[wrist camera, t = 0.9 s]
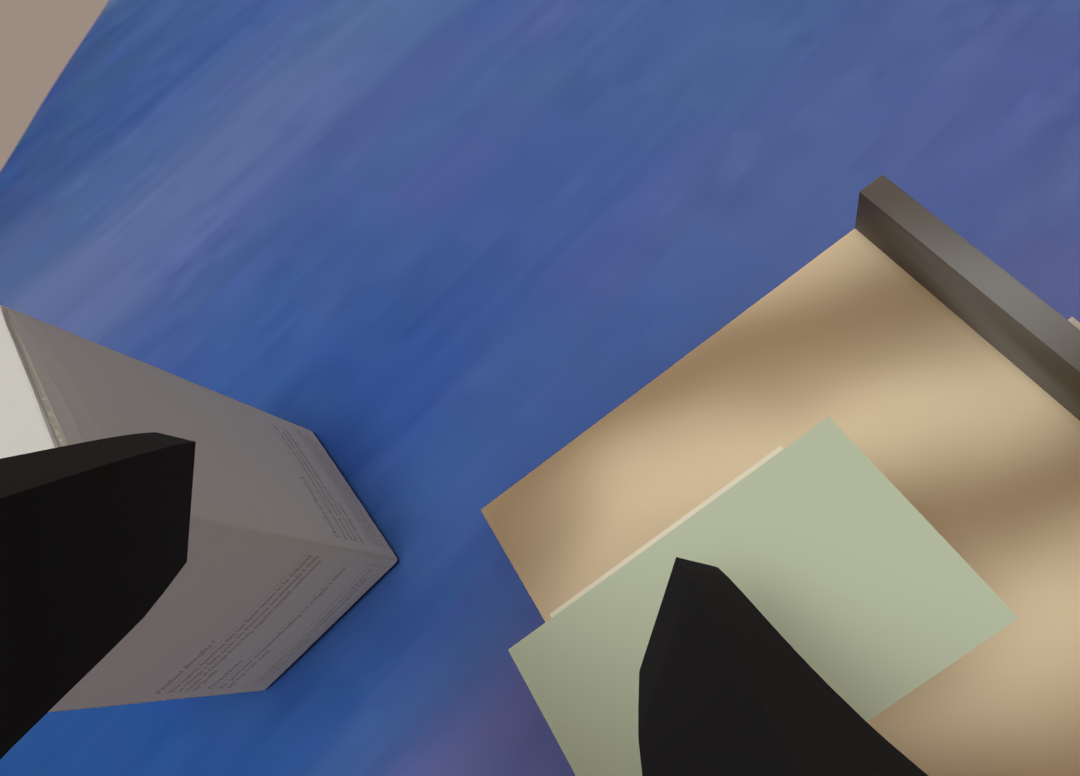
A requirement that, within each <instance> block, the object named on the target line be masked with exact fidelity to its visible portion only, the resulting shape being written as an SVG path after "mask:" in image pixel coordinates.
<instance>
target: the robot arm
mask: <svg viewBox="0 0 1080 776" xmlns="http://www.w3.org/2000/svg"><path fill="white" fill-rule="evenodd" d="M195 445H196V442H195V441H191V440H186V439H182V438H178V437H174V436H170V435H166V434H161V433H157V432H151V433H138V434H130V435H123V436H116V437H110V438H104V439H99V440H93V441H88V442H83V443H78V444H72V445H67V446H62V447H57V448H52V449H47V450H42V451H37V452H32V453H26V454H21V455H16V456H11V457H6V458H1V459H0V759H1V758H2V757H3V756H4V755H5V754H6V753H7V752H8V751H9V750H10V749H11V748H12V747H13V746H14V745H15V744H16V743H17V742H18V741H19V740H20V739H21V738H22V737H23V736H24V735H25V734H26V733H27V732H28V731H29V730H30V729H31V728H32V727H33V726H34V725H35V724H36V723H37V722H38V721H39V720H40V719H41V718H42V717H43V716H44V715H45V714H46V713H47V712H48V711H49V710H51V709H52V708H53V707H54V706H55V705H56V704H57V703H58V702H59V701H60V700H61V699H62V698H63V697H64V696H65V695H66V694H67V693H68V692H69V691H70V690H71V689H72V688H73V687H74V686H75V685H76V684H77V683H78V682H79V681H80V680H81V679H82V678H83V677H84V676H85V675H86V674H87V673H89V672H90V671H91V670H92V669H93V668H94V667H95V666H96V665H97V664H98V663H99V662H100V661H101V660H102V659H103V658H104V657H105V656H106V655H107V654H108V653H109V652H110V651H111V650H112V649H113V648H114V647H115V646H116V645H117V644H118V643H119V642H120V641H121V640H122V639H123V638H124V637H125V636H126V635H127V634H128V633H129V632H130V631H131V630H132V629H133V628H134V627H135V626H136V625H137V624H138V623H139V622H140V621H141V620H142V619H143V618H144V617H145V615H146V614H147V613H148V612H149V610H150V609H151V608H152V607H153V605H154V604H155V603H156V602H157V601H158V599H159V598H160V597H161V596H162V594H163V593H164V592H165V590H166V589H167V588H168V586H169V585H170V584H171V582H172V581H173V580H174V578H175V577H176V576H177V574H178V573H179V572H180V570H181V569H182V568H183V566H184V565H185V564H186V562H187V554H188V540H189V527H190V513H191V500H192V486H193V473H194V459H195ZM638 739H639V749H640V759H641V768H642V776H928V775H927V774H926V773H925V772H923V771H922V770H921V769H920V768H919V767H918V766H916V765H915V764H914V763H913V762H912V761H910V760H909V759H908V758H907V757H906V756H905V755H903V754H902V753H901V752H900V751H899V750H898V749H896V748H895V747H894V746H893V745H892V744H890V743H889V742H888V741H887V740H886V739H885V738H884V737H883V736H882V735H880V734H879V733H878V732H877V731H876V730H875V729H874V728H873V727H872V726H871V725H869V724H868V723H867V722H866V721H865V720H864V719H863V718H862V717H861V716H860V715H859V714H858V713H857V712H856V711H855V710H854V709H853V708H852V707H851V706H850V705H849V704H848V703H847V702H846V701H845V700H843V699H842V698H841V697H840V696H839V695H838V694H837V693H836V692H835V691H834V690H833V689H832V688H831V687H830V686H829V685H828V684H827V683H826V682H825V681H824V680H823V679H822V678H821V677H820V676H819V675H818V674H817V673H816V672H815V671H814V670H813V669H812V668H811V667H810V665H809V664H808V663H807V662H806V661H805V660H804V659H803V658H802V657H801V656H800V655H799V654H798V653H797V652H796V651H795V650H794V649H793V647H792V646H791V645H790V644H789V643H788V642H787V641H786V640H785V639H784V638H783V637H782V636H781V634H780V633H779V632H778V631H777V630H776V629H775V628H774V627H773V626H772V625H771V623H770V622H769V621H768V620H767V619H766V618H765V617H764V616H763V615H762V613H761V612H760V611H759V610H758V609H757V608H756V607H755V606H754V605H753V603H752V602H751V601H750V600H749V599H748V598H747V597H746V596H745V595H744V593H743V592H742V591H741V590H740V589H739V588H738V587H737V586H736V585H735V584H734V583H733V582H732V581H731V579H730V578H729V577H728V576H727V575H726V574H725V573H723V572H722V571H721V570H720V569H719V568H718V567H715V566H711V565H707V564H703V563H699V562H695V561H690V560H686V559H682V558H678V557H676V559H675V562H674V565H673V568H672V572H671V575H670V578H669V581H668V584H667V587H666V590H665V593H664V596H663V599H662V603H661V606H660V609H659V612H658V615H657V618H656V621H655V624H654V627H653V630H652V633H651V637H650V640H649V643H648V646H647V649H646V652H645V655H644V658H643V661H642V664H641V667H640V671H639V702H638Z"/></svg>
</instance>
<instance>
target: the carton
mask: <svg viewBox="0 0 1080 776" xmlns="http://www.w3.org/2000/svg"><path fill="white" fill-rule="evenodd" d="M676 557H678V558H682V559H686V560H690V561H695V562H699V563H703V564H707V565H711V566H715V567H718V568H719V569H720V570H721V571H722V572H723V573H725V574H726V575H727V576H728V577H729V578H730V579H731V581H732V582H733V583H734V584H735V585H736V586H737V587H738V588H739V589H740V590H741V591H742V592H743V593H744V595H745V596H746V597H747V598H748V599H749V600H750V601H751V602H752V603H753V605H754V606H755V607H756V608H757V609H758V610H759V611H760V612H761V613H762V615H763V616H764V617H765V618H766V619H767V620H768V621H769V622H770V623H771V625H772V626H773V627H774V628H775V629H776V630H777V631H778V632H779V633H780V634H781V636H782V637H783V638H784V639H785V640H786V641H787V642H788V643H789V644H790V645H791V646H792V647H793V649H794V650H795V651H796V652H797V653H798V654H799V655H800V656H801V657H802V658H803V659H804V660H805V661H806V662H807V663H808V664H809V665H810V667H811V668H812V669H813V670H814V671H815V672H816V673H817V674H818V675H819V676H820V677H821V678H822V679H823V680H824V681H825V682H826V683H827V684H828V685H829V686H830V687H831V688H832V689H833V690H834V691H835V692H836V693H837V694H838V695H839V696H840V697H841V698H842V699H843V700H845V701H846V702H847V703H848V704H849V705H850V706H851V707H852V708H853V709H854V710H855V711H856V712H857V713H858V714H859V715H860V716H861V717H862V718H863V719H864V720H865V721H866V722H867V721H869V720H870V719H872V718H873V717H875V716H876V715H878V714H879V713H881V712H882V711H883V710H885V709H886V708H888V707H889V706H891V705H892V704H894V703H895V702H897V701H898V700H900V699H901V698H903V697H904V696H905V695H907V694H908V693H910V692H911V691H913V690H914V689H916V688H917V687H919V686H920V685H922V684H923V683H925V682H926V681H927V680H929V679H930V678H932V677H933V676H935V675H936V674H938V673H939V672H941V671H942V670H944V669H945V668H947V667H948V666H950V665H951V664H952V663H954V662H955V661H957V660H958V659H960V658H961V657H963V656H964V655H966V654H967V653H969V652H970V651H972V650H973V649H974V648H976V647H977V646H979V645H980V644H982V643H983V642H985V641H986V640H988V639H989V638H991V637H992V636H994V635H995V634H997V633H998V632H999V631H1001V630H1002V629H1004V628H1005V627H1007V626H1008V625H1010V624H1011V623H1013V622H1014V621H1016V620H1017V619H1019V617H1018V616H1017V615H1016V614H1015V613H1014V612H1013V611H1012V610H1011V609H1010V608H1009V607H1008V606H1007V605H1006V604H1005V603H1004V602H1003V600H1002V599H1001V598H1000V597H999V596H998V595H997V594H996V593H995V592H994V591H993V590H992V589H991V588H990V587H989V586H988V585H987V584H986V582H985V581H984V580H983V579H982V578H981V577H980V576H979V575H978V574H977V573H976V572H975V571H974V570H973V569H972V568H971V567H970V566H969V564H968V563H967V562H966V561H965V560H964V559H963V558H962V557H961V556H960V555H959V554H958V553H957V552H956V551H955V550H954V549H953V547H952V546H951V545H950V544H949V543H948V542H947V541H946V540H945V539H944V538H943V537H942V536H941V535H940V534H939V533H938V532H937V531H936V529H935V528H934V527H933V526H932V525H931V524H930V523H929V522H928V521H927V520H926V519H925V518H924V517H923V516H922V515H921V514H920V513H919V511H918V510H917V509H916V508H915V507H914V506H913V505H912V504H911V503H910V502H909V501H908V500H907V499H906V498H905V497H904V496H903V494H902V493H901V492H900V491H899V490H898V489H897V488H896V487H895V486H894V485H893V484H892V483H891V482H890V481H889V480H888V479H887V478H886V476H885V475H884V474H883V473H882V472H881V471H880V470H879V469H878V468H877V467H876V466H875V465H874V464H873V463H872V462H871V461H870V459H869V458H868V457H867V456H866V455H865V454H864V453H863V452H862V451H861V450H860V449H859V448H858V447H857V446H856V445H855V444H854V443H853V441H852V440H851V439H850V438H849V437H848V436H847V435H846V434H845V433H844V432H843V431H842V430H841V429H840V428H839V427H838V426H837V425H836V423H835V422H834V421H833V420H832V419H831V418H830V417H829V416H828V417H827V418H826V419H824V420H823V421H821V422H820V423H819V424H817V425H816V426H815V427H813V428H812V429H811V430H809V431H808V432H806V433H805V434H804V435H802V436H801V437H800V438H798V439H797V440H795V441H794V442H793V443H791V444H790V445H789V446H787V447H786V448H783V447H782V446H779V447H778V448H776V449H775V450H774V451H772V452H771V453H770V454H768V455H767V456H765V457H764V458H763V459H761V460H760V461H759V462H757V463H756V464H755V465H753V466H752V467H750V468H749V469H748V470H746V471H745V472H744V473H742V474H741V475H739V476H738V477H737V478H735V479H734V480H733V481H731V482H730V483H728V484H727V485H726V486H724V487H723V488H722V489H720V490H719V491H717V492H716V493H715V494H713V495H712V496H711V497H709V498H708V499H707V500H705V501H704V502H702V503H701V504H700V505H698V506H697V507H696V508H694V509H693V510H691V511H690V512H689V513H687V514H686V515H685V516H683V517H682V518H680V519H679V520H678V521H676V522H675V523H674V524H672V525H671V526H669V527H668V528H667V529H665V530H664V531H663V532H661V533H660V534H659V535H657V536H656V537H654V538H653V539H652V540H650V541H649V542H648V543H646V544H645V545H643V546H642V547H641V548H639V549H638V550H637V551H635V552H634V553H632V554H631V555H630V556H628V557H627V558H626V559H624V560H623V561H621V562H620V563H619V564H617V565H616V566H615V567H613V568H612V569H610V570H609V571H608V572H606V573H605V574H604V575H602V576H601V577H600V578H598V579H597V580H595V581H594V582H593V583H591V584H590V585H589V586H587V587H586V588H584V589H583V590H582V591H580V592H579V593H578V594H576V595H575V596H573V597H572V598H571V599H569V600H568V601H567V602H565V603H564V604H562V605H561V606H560V607H558V608H557V609H556V610H554V611H553V612H552V613H550V616H551V617H552V618H551V619H550V620H548V621H547V622H545V623H544V624H543V625H541V626H540V627H539V628H537V629H536V630H534V631H533V632H532V633H530V634H529V635H528V636H526V637H525V638H524V639H522V640H521V641H519V642H518V643H517V644H515V645H514V646H513V647H511V648H510V649H508V651H509V652H510V654H511V656H512V658H513V660H514V662H515V664H516V665H517V667H518V669H519V671H520V673H521V675H522V677H523V678H524V680H525V682H526V684H527V686H528V688H529V690H530V691H531V693H532V695H533V697H534V699H535V701H536V703H537V705H538V706H539V708H540V710H541V712H542V714H543V716H544V718H545V719H546V721H547V723H548V725H549V727H550V729H551V731H552V732H553V734H554V736H555V738H556V740H557V742H558V744H559V745H560V747H561V749H562V751H563V753H564V755H565V757H566V758H567V760H568V762H569V764H570V766H571V768H572V770H573V771H574V773H575V775H576V776H642V768H641V759H640V749H639V739H638V702H639V671H640V667H641V664H642V661H643V658H644V655H645V652H646V649H647V646H648V643H649V640H650V637H651V633H652V630H653V627H654V624H655V621H656V618H657V615H658V612H659V609H660V606H661V603H662V599H663V596H664V593H665V590H666V587H667V584H668V581H669V578H670V575H671V572H672V568H673V565H674V562H675V559H676Z"/></svg>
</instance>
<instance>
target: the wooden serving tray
mask: <svg viewBox="0 0 1080 776" xmlns="http://www.w3.org/2000/svg"><path fill="white" fill-rule="evenodd" d="M828 416H829V417H830V418H831V419H832V420H833V421H834V422H835V423H836V425H837V426H838V427H839V428H840V429H841V430H842V431H843V432H844V433H845V434H846V435H847V436H848V437H849V438H850V439H851V440H852V441H853V443H854V444H855V445H856V446H857V447H858V448H859V449H860V450H861V451H862V452H863V453H864V454H865V455H866V456H867V457H868V458H869V459H870V461H871V462H872V463H873V464H874V465H875V466H876V467H877V468H878V469H879V470H880V471H881V472H882V473H883V474H884V475H885V476H886V478H887V479H888V480H889V481H890V482H891V483H892V484H893V485H894V486H895V487H896V488H897V489H898V490H899V491H900V492H901V493H902V494H903V496H904V497H905V498H906V499H907V500H908V501H909V502H910V503H911V504H912V505H913V506H914V507H915V508H916V509H917V510H918V511H919V513H920V514H921V515H922V516H923V517H924V518H925V519H926V520H927V521H928V522H929V523H930V524H931V525H932V526H933V527H934V528H935V529H936V531H937V532H938V533H939V534H940V535H941V536H942V537H943V538H944V539H945V540H946V541H947V542H948V543H949V544H950V545H951V546H952V547H953V549H954V550H955V551H956V552H957V553H958V554H959V555H960V556H961V557H962V558H963V559H964V560H965V561H966V562H967V563H968V564H969V566H970V567H971V568H972V569H973V570H974V571H975V572H976V573H977V574H978V575H979V576H980V577H981V578H982V579H983V580H984V581H985V582H986V584H987V585H988V586H989V587H990V588H991V589H992V590H993V591H994V592H995V593H996V594H997V595H998V596H999V597H1000V598H1001V599H1002V600H1003V602H1004V603H1005V604H1006V605H1007V606H1008V607H1009V608H1010V609H1011V610H1012V611H1013V612H1014V613H1015V614H1016V615H1017V616H1018V617H1019V619H1017V620H1016V621H1014V622H1013V623H1011V624H1010V625H1008V626H1007V627H1005V628H1004V629H1002V630H1001V631H999V632H998V633H997V634H995V635H994V636H992V637H991V638H989V639H988V640H986V641H985V642H983V643H982V644H980V645H979V646H977V647H976V648H974V649H973V650H972V651H970V652H969V653H967V654H966V655H964V656H963V657H961V658H960V659H958V660H957V661H955V662H954V663H952V664H951V665H950V666H948V667H947V668H945V669H944V670H942V671H941V672H939V673H938V674H936V675H935V676H933V677H932V678H930V679H929V680H927V681H926V682H925V683H923V684H922V685H920V686H919V687H917V688H916V689H914V690H913V691H911V692H910V693H908V694H907V695H905V696H904V697H903V698H901V699H900V700H898V701H897V702H895V703H894V704H892V705H891V706H889V707H888V708H886V709H885V710H883V711H882V712H881V713H879V714H878V715H876V716H875V717H873V718H872V719H870V720H869V721H867V723H868V724H869V725H871V726H872V727H873V728H874V729H875V730H876V731H877V732H878V733H879V734H880V735H882V736H883V737H884V738H885V739H886V740H887V741H888V742H889V743H890V744H892V745H893V746H894V747H895V748H896V749H898V750H899V751H900V752H901V753H902V754H903V755H905V756H906V757H907V758H908V759H909V760H910V761H912V762H913V763H914V764H915V765H916V766H918V767H919V768H920V769H921V770H922V771H923V772H925V773H926V774H927V775H928V776H1080V323H1079V322H1078V321H1077V320H1076V319H1074V318H1073V317H1071V318H1070V319H1068V320H1067V319H1065V318H1064V317H1063V316H1061V315H1060V314H1059V313H1058V312H1056V311H1055V310H1054V309H1053V308H1051V307H1050V306H1049V305H1047V304H1046V303H1045V302H1044V301H1042V300H1041V299H1040V298H1039V297H1037V296H1036V295H1035V294H1033V293H1032V292H1031V291H1030V290H1028V289H1027V288H1026V287H1025V286H1023V285H1022V284H1021V283H1020V282H1018V281H1017V280H1016V279H1014V278H1013V277H1012V276H1011V275H1009V274H1008V273H1007V272H1006V271H1004V270H1003V269H1002V268H1000V267H999V266H998V265H997V264H995V263H994V262H993V261H992V260H990V259H989V258H988V257H986V256H985V255H984V254H983V253H981V252H980V251H979V250H978V249H976V248H975V247H974V246H972V245H971V244H970V243H969V242H967V241H966V240H965V239H964V238H962V237H961V236H960V235H958V234H957V233H956V232H955V231H953V230H952V229H951V228H950V227H948V226H947V225H946V224H945V223H943V222H942V221H941V220H939V219H938V218H937V217H936V216H934V215H933V214H932V213H931V212H929V211H928V210H927V209H925V208H924V207H923V206H922V205H920V204H919V203H918V202H917V201H915V200H914V199H913V198H911V197H910V196H909V195H908V194H906V193H905V192H904V191H903V190H901V189H900V188H899V187H897V186H896V185H895V184H894V183H892V182H891V181H890V180H889V179H887V178H886V177H885V176H883V175H881V176H880V177H879V178H877V179H876V180H875V181H873V182H872V183H871V184H870V185H868V186H867V187H866V188H864V189H863V190H862V191H860V194H859V202H858V209H857V217H856V225H855V229H853V230H852V231H851V232H849V233H848V234H847V235H845V236H844V237H843V238H841V239H840V240H839V241H837V242H836V243H835V244H834V245H832V246H831V247H830V248H828V249H827V250H826V251H824V252H823V253H822V254H820V255H819V256H818V257H816V258H815V259H814V260H812V261H811V262H810V263H808V264H807V265H806V266H804V267H803V268H802V269H800V270H799V271H798V272H796V273H795V274H794V275H792V276H791V277H790V278H788V279H787V280H786V281H784V282H783V283H782V284H780V285H779V286H778V287H776V288H775V289H774V290H772V291H771V292H770V293H768V294H767V295H766V296H764V297H763V298H762V299H760V300H759V301H758V302H756V303H755V304H754V305H752V306H751V307H750V308H748V309H747V310H746V311H744V312H743V313H742V314H740V315H739V316H738V317H736V318H735V319H734V320H732V321H731V322H730V323H728V324H727V325H726V326H724V327H723V328H722V329H721V330H719V331H718V332H717V333H715V334H714V335H713V336H711V337H710V338H709V339H707V340H706V341H705V342H703V343H702V344H701V345H699V346H698V347H697V348H695V349H694V350H693V351H691V352H690V353H689V354H687V355H686V356H685V357H683V358H682V359H681V360H679V361H678V362H677V363H675V364H674V365H673V366H671V367H670V368H669V369H667V370H666V371H665V372H663V373H662V374H661V375H659V376H658V377H657V378H655V379H654V380H653V381H651V382H650V383H649V384H647V385H646V386H645V387H643V388H642V389H641V390H639V391H638V392H637V393H635V394H634V395H633V396H631V397H630V398H629V399H627V400H626V401H625V402H623V403H622V404H621V405H619V406H618V407H617V408H615V409H614V410H613V411H612V412H610V413H609V414H608V415H606V416H605V417H604V418H602V419H601V420H600V421H598V422H597V423H596V424H594V425H593V426H592V427H590V428H589V429H588V430H586V431H585V432H584V433H582V434H581V435H580V436H578V437H577V438H576V439H574V440H573V441H572V442H570V443H569V444H568V445H566V446H565V447H564V448H562V449H561V450H560V451H558V452H557V453H556V454H554V455H553V456H552V457H550V458H549V459H548V460H546V461H545V462H544V463H542V464H541V465H540V466H538V467H537V468H536V469H534V470H533V471H532V472H530V473H529V474H528V475H526V476H525V477H524V478H522V479H521V480H520V481H518V482H517V483H516V484H514V485H513V486H512V487H510V488H509V489H508V490H506V491H505V492H504V493H502V494H501V495H500V496H499V497H497V498H496V499H495V500H493V501H492V502H491V503H489V504H488V505H487V506H485V507H484V508H483V509H481V511H482V513H483V515H484V517H485V518H486V520H487V522H488V524H489V525H490V527H491V529H492V530H493V532H494V534H495V536H496V537H497V539H498V541H499V543H500V544H501V546H502V548H503V550H504V551H505V553H506V555H507V556H508V558H509V560H510V562H511V563H512V565H513V567H514V569H515V570H516V572H517V574H518V575H519V577H520V579H521V581H522V582H523V584H524V586H525V588H526V589H527V591H528V593H529V595H530V596H531V598H532V600H533V601H534V603H535V605H536V607H537V608H538V610H539V612H540V614H541V615H542V617H543V619H544V620H545V622H547V621H548V620H550V619H551V618H552V617H551V616H550V613H552V612H553V611H554V610H556V609H557V608H558V607H560V606H561V605H562V604H564V603H565V602H567V601H568V600H569V599H571V598H572V597H573V596H575V595H576V594H578V593H579V592H580V591H582V590H583V589H584V588H586V587H587V586H589V585H590V584H591V583H593V582H594V581H595V580H597V579H598V578H600V577H601V576H602V575H604V574H605V573H606V572H608V571H609V570H610V569H612V568H613V567H615V566H616V565H617V564H619V563H620V562H621V561H623V560H624V559H626V558H627V557H628V556H630V555H631V554H632V553H634V552H635V551H637V550H638V549H639V548H641V547H642V546H643V545H645V544H646V543H648V542H649V541H650V540H652V539H653V538H654V537H656V536H657V535H659V534H660V533H661V532H663V531H664V530H665V529H667V528H668V527H669V526H671V525H672V524H674V523H675V522H676V521H678V520H679V519H680V518H682V517H683V516H685V515H686V514H687V513H689V512H690V511H691V510H693V509H694V508H696V507H697V506H698V505H700V504H701V503H702V502H704V501H705V500H707V499H708V498H709V497H711V496H712V495H713V494H715V493H716V492H717V491H719V490H720V489H722V488H723V487H724V486H726V485H727V484H728V483H730V482H731V481H733V480H734V479H735V478H737V477H738V476H739V475H741V474H742V473H744V472H745V471H746V470H748V469H749V468H750V467H752V466H753V465H755V464H756V463H757V462H759V461H760V460H761V459H763V458H764V457H765V456H767V455H768V454H770V453H771V452H772V451H774V450H775V449H776V448H778V447H779V446H782V447H783V448H786V447H787V446H789V445H790V444H791V443H793V442H794V441H795V440H797V439H798V438H800V437H801V436H802V435H804V434H805V433H806V432H808V431H809V430H811V429H812V428H813V427H815V426H816V425H817V424H819V423H820V422H821V421H823V420H824V419H826V418H827V417H828Z"/></svg>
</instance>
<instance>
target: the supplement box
mask: <svg viewBox="0 0 1080 776" xmlns="http://www.w3.org/2000/svg"><path fill="white" fill-rule="evenodd" d="M151 432H157V433H161V434H166V435H170V436H174V437H178V438H182V439H186V440H191V441H195V442H196V445H195V459H194V473H193V486H192V500H191V513H190V527H189V540H188V554H187V562H186V564H185V565H184V566H183V568H182V569H181V570H180V572H179V573H178V574H177V576H176V577H175V578H174V580H173V581H172V582H171V584H170V585H169V586H168V588H167V589H166V590H165V592H164V593H163V594H162V596H161V597H160V598H159V599H158V601H157V602H156V603H155V604H154V605H153V607H152V608H151V609H150V610H149V612H148V613H147V614H146V615H145V617H144V618H143V619H142V620H141V621H140V622H139V623H138V624H137V625H136V626H135V627H134V628H133V629H132V630H131V631H130V632H129V633H128V634H127V635H126V636H125V637H124V638H123V639H122V640H121V641H120V642H119V643H118V644H117V645H116V646H115V647H114V648H113V649H112V650H111V651H110V652H109V653H108V654H107V655H106V656H105V657H104V658H103V659H102V660H101V661H100V662H99V663H98V664H97V665H96V666H95V667H94V668H93V669H92V670H91V671H90V672H89V673H87V674H86V675H85V676H84V677H83V678H82V679H81V680H80V681H79V682H78V683H77V684H76V685H75V686H74V687H73V688H72V689H71V690H70V691H69V692H68V693H67V694H66V695H65V696H64V697H63V698H62V699H61V700H60V701H59V702H58V703H57V704H56V705H55V706H54V707H53V708H52V709H51V710H49V711H48V712H57V711H65V710H76V709H85V708H96V707H106V706H114V705H124V704H133V703H145V702H153V701H163V700H173V699H181V698H192V697H202V696H215V695H224V694H233V693H243V692H253V691H263V690H265V689H267V688H268V687H269V686H270V685H271V684H272V683H273V682H274V681H275V680H276V679H277V678H278V677H279V676H280V675H281V674H282V673H283V672H284V671H285V670H286V669H287V668H288V667H290V666H291V665H292V664H293V663H294V662H295V661H296V660H297V659H298V658H299V657H300V656H301V655H302V654H303V653H304V652H305V651H306V650H307V649H308V648H309V647H310V646H311V645H312V644H313V643H314V642H315V641H316V640H317V639H318V638H319V637H320V636H321V635H322V634H323V633H324V632H325V631H326V630H327V629H328V628H330V627H331V626H332V625H333V624H334V623H335V622H336V621H337V620H338V619H339V618H340V617H341V616H342V615H343V614H344V613H345V612H346V611H347V610H348V609H349V608H350V607H351V606H352V605H353V604H354V603H355V602H356V601H357V600H358V599H359V598H360V597H361V596H362V595H363V594H364V593H365V592H366V591H367V590H368V589H369V588H370V587H372V586H373V585H374V584H375V583H376V582H377V581H378V580H379V579H380V578H381V577H382V576H383V575H384V574H385V573H386V572H387V571H388V570H389V569H390V568H391V567H392V566H393V565H394V564H395V563H396V562H397V557H396V556H395V554H394V553H393V551H392V549H391V548H390V546H389V545H388V543H387V542H386V540H385V539H384V537H383V536H382V534H381V533H380V531H379V530H378V528H377V527H376V525H375V524H374V522H373V521H372V519H371V518H370V516H369V515H368V513H367V512H366V510H365V508H364V507H363V505H362V504H361V503H360V501H359V500H358V498H357V497H356V495H355V494H354V492H353V491H352V489H351V488H350V486H349V484H348V483H347V482H346V480H345V479H344V477H343V476H342V474H341V473H340V471H339V470H338V468H337V467H336V465H335V464H334V462H333V461H332V459H331V458H330V457H329V455H328V454H327V452H326V450H325V449H324V447H323V446H322V444H321V443H320V442H319V440H318V439H317V437H316V436H315V435H314V433H313V432H312V431H310V430H308V429H306V428H303V427H301V426H298V425H295V424H293V423H290V422H288V421H285V420H283V419H281V418H278V417H276V416H274V415H271V414H268V413H266V412H264V411H261V410H259V409H256V408H254V407H251V406H249V405H247V404H244V403H241V402H239V401H236V400H234V399H232V398H229V397H227V396H224V395H222V394H219V393H217V392H214V391H212V390H210V389H207V388H205V387H202V386H200V385H197V384H194V383H192V382H190V381H187V380H185V379H183V378H180V377H178V376H175V375H173V374H171V373H168V372H166V371H163V370H161V369H159V368H156V367H154V366H151V365H149V364H146V363H144V362H141V361H139V360H136V359H134V358H131V357H129V356H126V355H124V354H121V353H119V352H116V351H114V350H111V349H109V348H107V347H104V346H101V345H99V344H96V343H94V342H92V341H89V340H87V339H84V338H82V337H79V336H77V335H74V334H72V333H70V332H67V331H65V330H62V329H59V328H57V327H54V326H52V325H50V324H47V323H45V322H42V321H40V320H37V319H35V318H33V317H30V316H28V315H26V314H23V313H21V312H18V311H15V310H13V309H10V308H8V307H5V306H2V305H0V459H1V458H6V457H11V456H16V455H21V454H26V453H32V452H37V451H42V450H47V449H52V448H57V447H62V446H67V445H72V444H78V443H83V442H88V441H93V440H99V439H104V438H110V437H116V436H123V435H130V434H138V433H151Z"/></svg>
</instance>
